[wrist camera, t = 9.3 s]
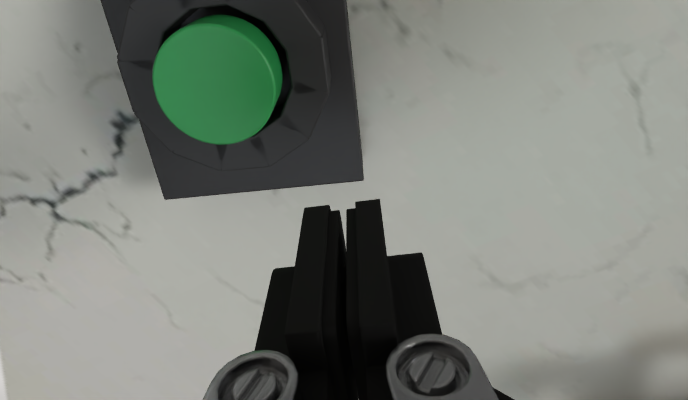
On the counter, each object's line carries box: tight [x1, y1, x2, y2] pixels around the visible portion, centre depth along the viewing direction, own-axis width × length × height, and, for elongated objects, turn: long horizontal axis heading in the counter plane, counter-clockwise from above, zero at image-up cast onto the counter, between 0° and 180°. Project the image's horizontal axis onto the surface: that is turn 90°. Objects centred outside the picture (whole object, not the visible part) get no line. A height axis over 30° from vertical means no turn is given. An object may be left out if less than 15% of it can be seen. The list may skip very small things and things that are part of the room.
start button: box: [152, 15, 283, 145], centre depth 15 cm, size 4×4×2 cm
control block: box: [101, 0, 364, 200], centre depth 17 cm, size 10×8×4 cm
